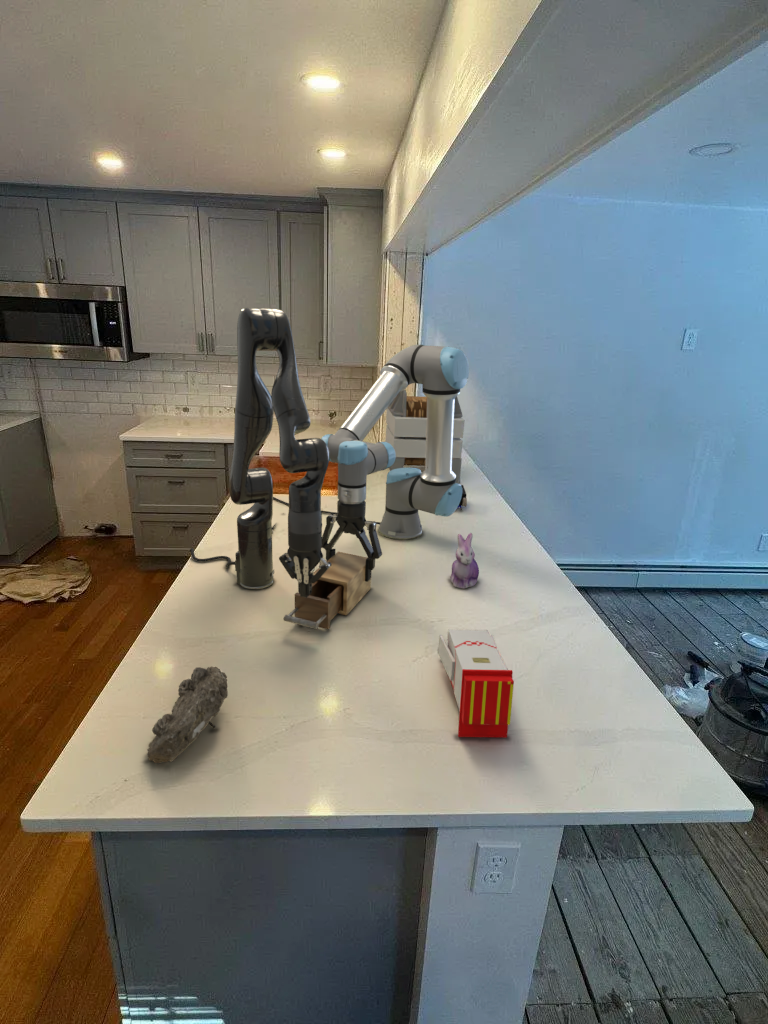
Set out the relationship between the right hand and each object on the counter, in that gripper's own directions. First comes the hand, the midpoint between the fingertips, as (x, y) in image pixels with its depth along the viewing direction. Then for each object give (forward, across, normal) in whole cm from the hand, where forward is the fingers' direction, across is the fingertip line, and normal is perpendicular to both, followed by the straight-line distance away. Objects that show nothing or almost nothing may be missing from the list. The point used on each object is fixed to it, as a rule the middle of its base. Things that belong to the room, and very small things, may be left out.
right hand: (349, 575), depth 157 cm
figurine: (+4, +28, +19) cm, 34 cm away
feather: (+4, -43, +31) cm, 54 cm away
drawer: (+3, 0, -18) cm, 18 cm away
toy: (+4, +41, -31) cm, 52 cm away
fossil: (+4, -4, -62) cm, 62 cm away
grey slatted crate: (+4, -19, +124) cm, 126 cm away
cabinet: (+4, 0, -5) cm, 7 cm away
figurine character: (+4, +10, +85) cm, 85 cm away
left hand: (-6, 0, -26) cm, 26 cm away
